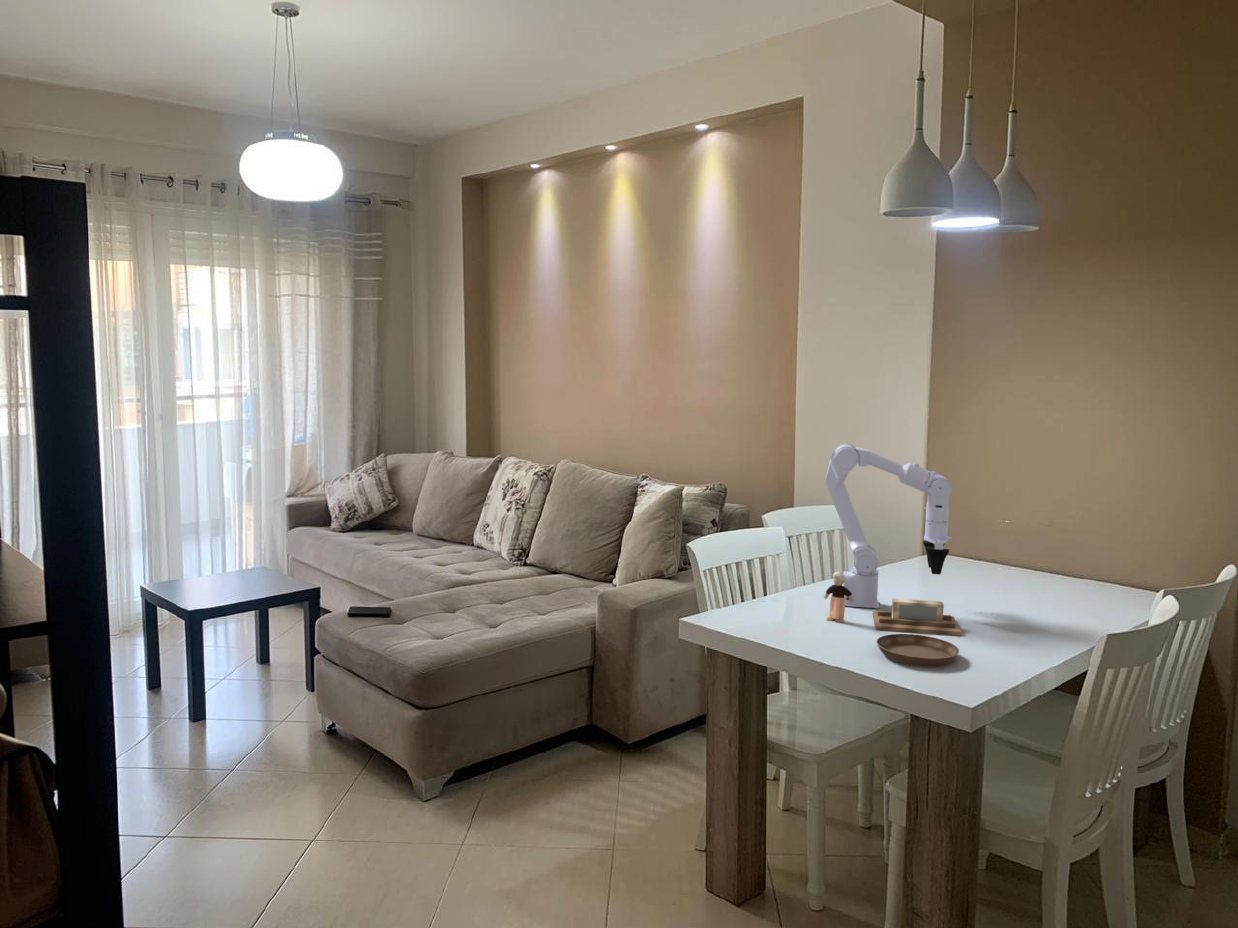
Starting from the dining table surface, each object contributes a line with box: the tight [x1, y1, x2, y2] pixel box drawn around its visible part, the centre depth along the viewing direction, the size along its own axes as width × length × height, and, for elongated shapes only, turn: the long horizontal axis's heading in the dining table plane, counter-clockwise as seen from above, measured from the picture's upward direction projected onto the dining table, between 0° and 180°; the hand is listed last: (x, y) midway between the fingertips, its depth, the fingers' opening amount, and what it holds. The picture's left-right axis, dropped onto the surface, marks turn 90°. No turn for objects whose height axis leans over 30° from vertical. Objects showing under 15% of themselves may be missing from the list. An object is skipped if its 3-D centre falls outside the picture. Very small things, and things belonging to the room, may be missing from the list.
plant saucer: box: [875, 633, 960, 668], centre depth 204 cm, size 18×18×3 cm
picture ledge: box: [872, 610, 962, 637], centre depth 229 cm, size 20×14×2 cm
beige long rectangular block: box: [891, 598, 944, 622], centre depth 228 cm, size 12×3×5 cm, turn 77°
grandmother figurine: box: [823, 571, 854, 623], centre depth 231 cm, size 8×4×13 cm, turn 68°
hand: (934, 570), depth 243 cm, fingers open, 7 cm apart
